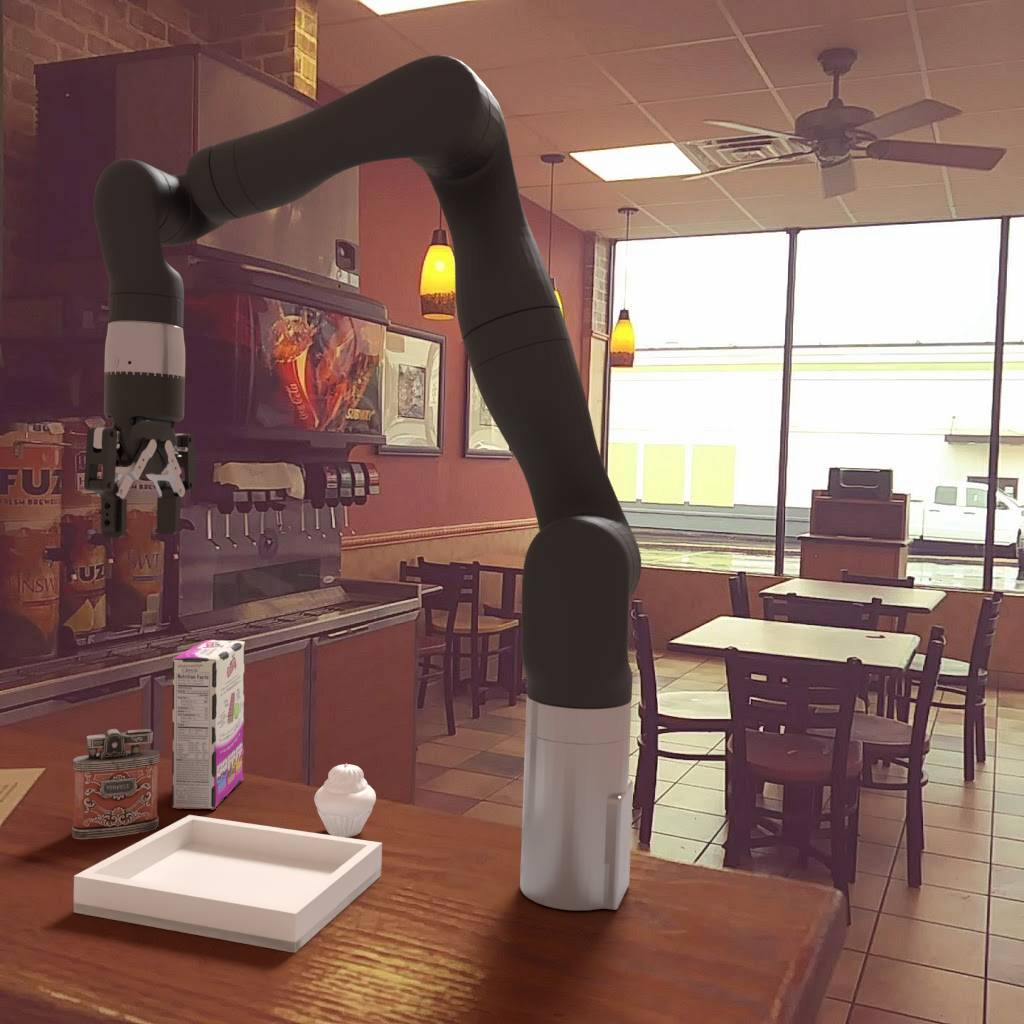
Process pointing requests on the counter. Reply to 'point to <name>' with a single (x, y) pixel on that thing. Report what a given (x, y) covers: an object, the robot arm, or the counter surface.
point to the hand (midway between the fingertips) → (142, 535)
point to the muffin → (345, 801)
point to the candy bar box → (207, 723)
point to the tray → (231, 881)
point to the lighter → (116, 786)
